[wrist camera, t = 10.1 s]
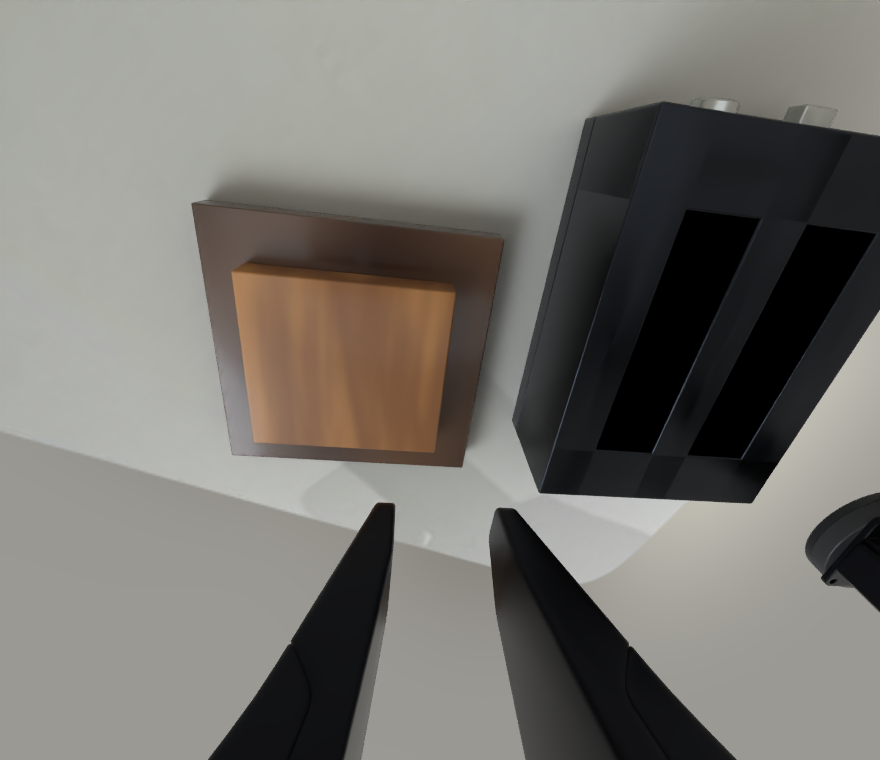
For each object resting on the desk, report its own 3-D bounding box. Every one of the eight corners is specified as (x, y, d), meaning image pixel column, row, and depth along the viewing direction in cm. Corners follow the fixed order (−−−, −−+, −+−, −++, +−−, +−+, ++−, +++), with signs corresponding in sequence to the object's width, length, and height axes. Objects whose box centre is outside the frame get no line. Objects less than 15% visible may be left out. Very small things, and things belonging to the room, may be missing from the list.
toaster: (833, 124, 16) (1012, 110, 11) (681, 432, 23) (751, 504, 18) (593, 86, 15) (676, 52, 10) (511, 420, 22) (538, 493, 17)
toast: (457, 292, 16) (229, 270, 15) (434, 453, 20) (252, 443, 19) (453, 282, 17) (243, 261, 16) (433, 436, 21) (262, 425, 20)
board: (499, 233, 17) (505, 238, 16) (460, 453, 23) (462, 467, 22) (205, 199, 16) (190, 202, 15) (240, 441, 22) (231, 455, 21)
